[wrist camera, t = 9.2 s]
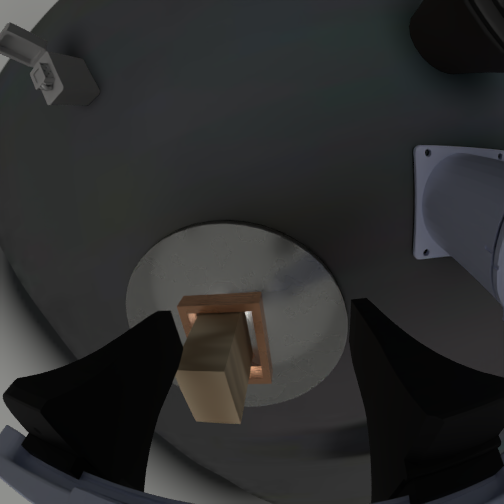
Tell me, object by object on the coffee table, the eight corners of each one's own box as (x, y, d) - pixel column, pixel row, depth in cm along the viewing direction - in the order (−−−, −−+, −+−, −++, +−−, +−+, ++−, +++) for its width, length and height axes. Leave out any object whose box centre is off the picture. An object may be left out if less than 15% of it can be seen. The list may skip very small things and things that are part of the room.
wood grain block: (243, 301, 21) (224, 371, 14) (253, 353, 22) (240, 423, 16) (203, 303, 21) (172, 369, 15) (217, 354, 23) (196, 421, 16)
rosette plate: (345, 207, 18) (352, 217, 16) (340, 394, 25) (343, 413, 22) (105, 235, 21) (87, 246, 19) (166, 394, 28) (159, 411, 25)
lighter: (101, 92, 17) (22, 86, 9) (86, 107, 17) (7, 108, 10) (71, 36, 15) (2, 20, 7) (58, 51, 15) (-11, 40, 8)
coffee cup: (387, 68, 14) (469, 22, 5) (391, -21, 11) (444, -91, 2) (481, 109, 14) (580, 113, 5) (481, 22, 11) (559, -7, 1)
